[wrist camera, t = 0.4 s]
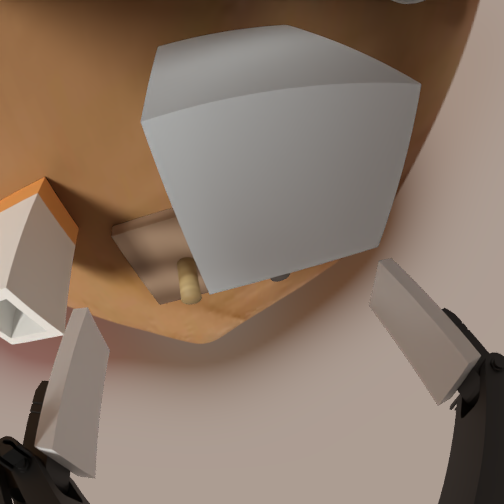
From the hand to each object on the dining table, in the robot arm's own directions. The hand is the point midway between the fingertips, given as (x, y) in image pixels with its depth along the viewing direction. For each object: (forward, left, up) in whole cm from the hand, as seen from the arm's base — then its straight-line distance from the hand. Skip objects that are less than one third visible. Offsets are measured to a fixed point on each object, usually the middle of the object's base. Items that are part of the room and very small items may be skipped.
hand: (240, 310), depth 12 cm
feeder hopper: (-4, +3, -13) cm, 14 cm away
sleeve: (+1, -15, -13) cm, 20 cm away
